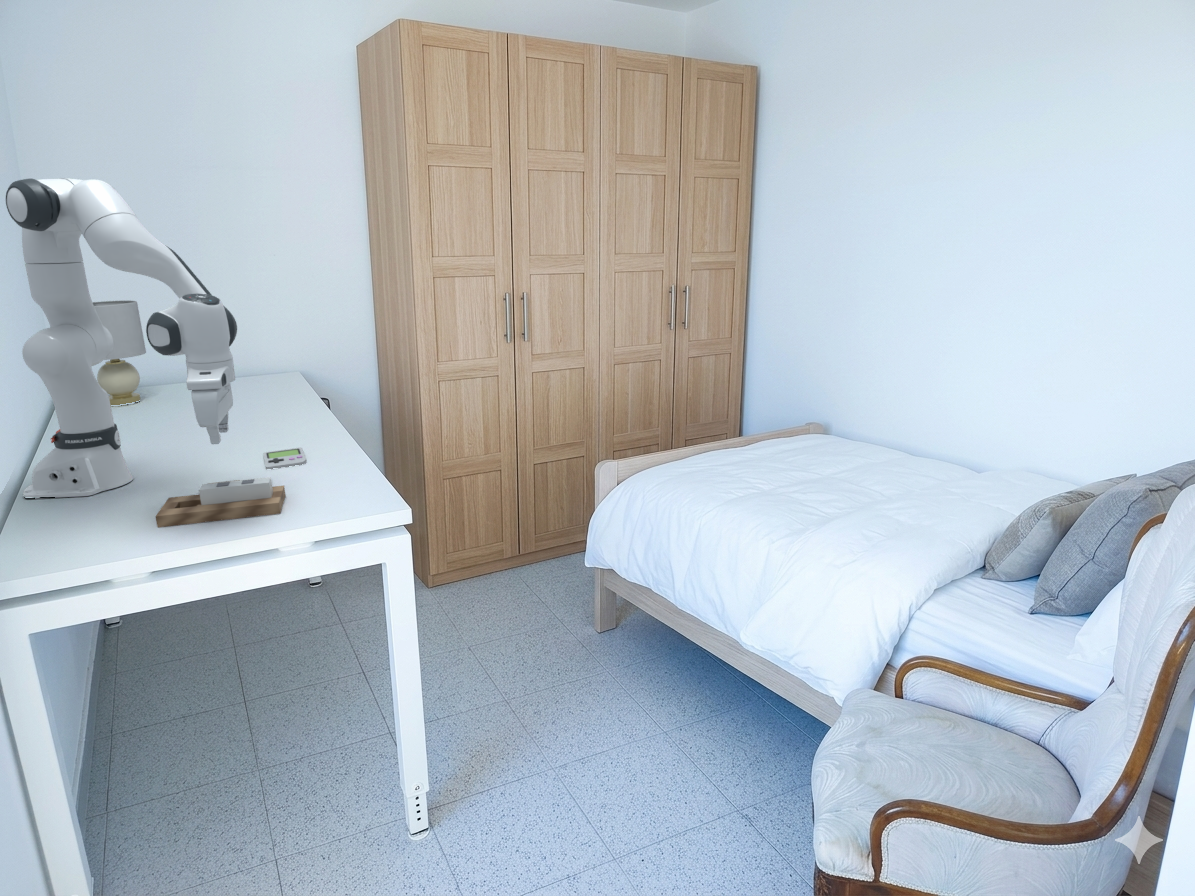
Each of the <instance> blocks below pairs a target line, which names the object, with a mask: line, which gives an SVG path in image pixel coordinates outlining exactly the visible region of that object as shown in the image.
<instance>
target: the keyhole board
mask: <svg viewBox="0 0 1195 896" xmlns="http://www.w3.org/2000/svg"><path fill="white" fill-rule="evenodd" d="M272 487H273V494H272V497H271V498H264V499H255V500H246V501H236V502H227V503H218V504H209V505H201V499H200V494H190V495H181V496H171V497H170V496H169V497H167V500H166V501H165V503H164V504H163V505H162V506H161V508H160V509H159V511H158V512H157V514H156V515H155V516H154V517H155V521H156V527H157V528H166V527H167V528H168V527H175V526H181V525H182V526H183V525H185V526H186V525H192V524H201V523H202V524H203V523H209V522H219V521H228V520H229V521H230V520H235V519H244V518H245V519H246V518H252V517H253V518H254V517H263V516H271V515H280V514H281V513H282V509H283V506H284V503H285V499H286V495H287V494H286V489H285V485H275V486H272Z"/></svg>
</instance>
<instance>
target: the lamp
mask: <svg viewBox="0 0 1195 896" xmlns="http://www.w3.org/2000/svg"><path fill="white" fill-rule="evenodd" d="M92 303H93V305H94V308H95V310H96V312H97V314H98V317H99V319H100V321H101V323H102V325H103V326H104V327H105V328H107V329H108V331H109V332H110V333H111V335H112V338H113V349H112V351H111V353H110V354H109V355H108V356H107V357H106V358H105V359H104V360H103V361H105V363H104V364H103V365H101V367H99V369H98V371H97V375H96V380H97V382H98V383H99V385H100V386H101V388H103V389H104V390H105V391H106V392H107V393H108V395H109V400H110V405H120V404H126V403H132V402H136V401H139V400H140V399H141V400H142V398H141V394H140V393H139V392H135V391H136V390H137V389H138V388H139V384H140V382H141V380H140V379H141V377H140V373H139V370H138V369H137V368H136V367H135V366H134V365H133V364H132V363H130V362H128V361H126V359H129V358H133V357H134V358H135V357H139V356H142V355H145V354H147V349H146V344H145V339H144V333H143V327H142V321H141V316H140V311H139V306H138V305H139V304H138V301H137V300H131V299H130V300H127V299H126V300H106V301H105V300H104V301H102V300H101V301H92Z"/></svg>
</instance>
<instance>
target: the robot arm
mask: <svg viewBox="0 0 1195 896" xmlns="http://www.w3.org/2000/svg"><path fill="white" fill-rule="evenodd" d="M5 207H6V209H7V212H8V214H9V216H10V218H11V219H12V220H13V221H14V222H15V223H16V225H18V226H19V227H21V244H22V245H21V247H22V253H23V254H22V255H23V260H24V261H23V262H24V265H25V269H26V275H27V281H28V286H29V289H30V295H31V298H32V300H33V301H34V303H36V304H37V305H38V306H39V307H40V308H41V310H42V311H43V313H44V315H45V317H46V320H47V321H48V324H49V327H46V328H43V329H41V330H39V331H37V332H35V333H34V334H33V335H31V336H30V337H28V339H27V340H26V341H25V342H24V344H23V346H22V351H21V352H22V353H21V354H22V357H23V358H22V359H23V361H24V363H25V364H26V366H27V367H28V368H29V369H30V370H31V371H32V372H33V373H35V374H37V375H38V377H39V378H40V379H41V381H42V383H43V384H44V386H45V388H46V390H47V392H48V393H49V395H50V398H51V399H52V403H53V405H54V410H55V413H56V418H57V422H58V425H59V426H58V427H59V429H58V430H56V431H55V434H53V435H52V437H50V443H51V444H53V445H54V448H53V449H52V450H51V451H50V452H48V453H47V454H46V455H45V456H44V457H43V458H42V459H41V460H40V461H39V462H38V463H36V465H35V466H34V467H33V469H32V474H31V475H32V476H31V481H32V483H31V484H30V485H28V486H27V487H26V488H25V489H24V490H23V493H22V496H23V495H24V496H25V497H55V498H68V497H69V498H73V497H89V496H92V495H93V496H94V495H97V494H99V493H101V492H104V491H108V490H112V489H115V488H119V487H121V486H124V485H126V484H128V483H130V482H132V480H134V476H133V474H132V473H131V471H130V469H129V467H128V465H127V462H126V460H125V458H124V454H123V451H122V448H121V446H122V445H121V444H122V443H121V442H122V441H121V436H120V432H119V430H118V426H117V423H115V421H114V415H113V411H112V407H111V405H110V400H109V396H110V395H109V394H108V393H107V392H106V391H105V390H104V389H103V388H101V386H100V385H99V383H98V381H97V377H96V376H95V374H94V372H93V369H92V367H94V366H96V365H99V364H101V363H102V362H103V361H105V360H104V359H105V358H106V357H107V356H108V355H109V354H110V353H111V351H112V349H113V338H112V335H111V333H110V332H109V331H108V329H107V328H105V327H104V326H103V325H102V323H101V321H100V319H99V317H98V314H97V312H96V310H95V308H94V305H93V303H92V302H93V301H92V298H91V294H90V291H89V285H88V280H87V275H86V270H85V269H86V268H85V264H84V259H83V254H82V250H81V244H80V238H81V236H82V237H83V238H84V240H85V241H86V243H87V245H88V246H89V248H90V249H91V251H92V252H93V253H94V255H95V256H96V257H97V258H98V259H99V260H100V261H101V262H103V263H104V264H105V265H107V266H108V267H110V268H112V269H115V270H118V271H122V272H126V273H132V274H137V275H141V276H146V277H148V278H149V277H150V278H151V279H155V280H157V281H160V282H162V283H163V284H164V285H166V286H167V287H169V288H170V289H171V291H172V292H173V293H174V294H175V295H176V296H177V298H178V299H179V300H178V301H177V302H176V303H175V304H173V305H171V306H169V307H168V308H165V309H162V310H159V311H157V312H153V313H152V314H151V315H150V317H149V318H148V320H147V322H146V326H145V327H146V328H145V332H146V338H147V341H148V342H149V345H150V346H151V347H152V349H153V350H154V351H155V352H157V353H158V354H159V355H162V356H168V357H175V356H177V357H178V356H183V355H185V364H186V374H187V378H186V389H187V390H188V391H190V392H191V400H192V407H193V410H194V415H195V419H196V422H197V425H198V426H199V427H200V428H206V431H207V434H208V436H209V441H210V442H209V443H210V444H211V445H219V444H220V443H221V441H222V439H221V437H222V436H221V434H222V433H228V431H229V430H230V429H229V412H230V410H231V409H232V407H233V405H234V399H233V398H234V397H233V392H232V391H233V390H232V386H231V385H232V384H231V383H232V382H234V381H235V380H236V374H235V373H236V372H235V365H234V357H233V354H232V352H231V348H230V347H231V346H232V344H233V343H234V341H235V340H236V337H237V334H238V324H237V320H236V319H235V317H234V315H233V314H232V313H231V311H230V310H229V309H228V308H227V307H226V306H225V305H223V302H222V300H221V299H220V298H219V297H217V296H215V295H212V293H211V291H209V290H208V288H207V287H206V286H205V285H204V284H203V283H202V281H201V280H200V279H199V278H198V276H197V275H196V274H195V273H194V272H193V271H192V269H191V268H190V267H189V266H188V264H187V263H186V262H185V261H184V260H183V258H182V257H180V256H179V254H177V252H175V250H173V249H172V248H170V247H169V246H167V245H165V244H164V243H162V242H161V241H160V240H159V239H157V238H156V237H155V236H154V235H153V234H152V233H151V232H150V231H148V229H147V228H146V227H145V226H144V225H143V224H142V222H141V220H140V219H139V218H138V216H137V215H136V214H135V211H133V209H132V208H131V206H130V205H129V204H128V202H127V201H126V200H125V199H124V198H123V196H121V194H120V193H119V192H118V191H117V190H116V188H115V187H113V186H112V185H111V184H109V183H108V182H106V181H104V180H101V179H94V178H92V179H91V178H90V179H79V178H69V177H60V178H42V179H35V178H23V179H18V180H15V181H13V182H11V184H10V185H9V186H8V188H7V190H6V193H5Z"/></svg>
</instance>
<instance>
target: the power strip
mask: <svg viewBox="0 0 1195 896" xmlns="http://www.w3.org/2000/svg"><path fill="white" fill-rule="evenodd" d="M237 480H238V481H234V480H227V481H228V482H225V481H218V483H215V482H208V483H209V484H207V483H202V484H201V486H200V487H199V489H198V493H199V494H200V499H201V505H209V504H218V503H227V502H236V501H246V500H255V499H264V498H271V497H272V494H273V487H274V486H273V482H272V476H268V477H267V476H266V477H258V478H251V479H250V478H249V479H237Z"/></svg>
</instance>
